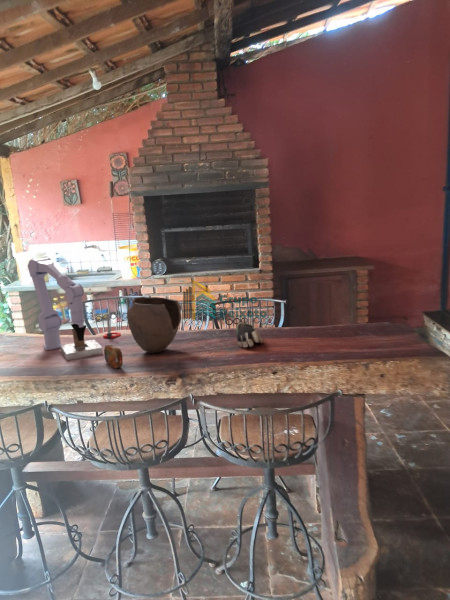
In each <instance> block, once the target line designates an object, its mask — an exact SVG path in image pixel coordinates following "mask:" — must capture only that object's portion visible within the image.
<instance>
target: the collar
mask: <svg viewBox="0 0 450 600" xmlns="http://www.w3.org/2000/svg"><path fill="white" fill-rule="evenodd" d="M84 342H85V346H82V347H77V348H76V347H75V345H74V342H73V343H67V344H62V345H60V347H61V348H60V352H61V354H62V355H63V357H64V358H65V360H66V361H70V360H76V359H80V358H85V357H86V358H87V357H92V356H96V355H103V354H104V349H103V346H101V345H100V343H98V342H97V341H96V340H95V339H90V340H89V339H88V340H84Z"/></svg>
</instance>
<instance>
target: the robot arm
mask: <svg viewBox="0 0 450 600" xmlns="http://www.w3.org/2000/svg"><path fill="white" fill-rule="evenodd" d="M54 264H55V263H54V261H53V260H52V258H50V257H48V256H47V257H41V258H35V259H33V258H32V259H30V260H29V261H28V263H27V269H28V271H29V272H28V273H29V276H30V278H31V279H32V283H33V286H34V290H35V293H36V297H37V300H38V305H39V308H40V310H41V312H40V313H39V314H38V316H37V319H38V320H37V321H38V328H39V329H40V330H41V332H42V333H43V339H44V344H43V347H44V349H45V351H49V350H55V349H61V347H60V345H63V344H62V343H61V335H60V329H61V327H62V324H63V320H62V317H61V315H60V313H59V312H58V310H55V309H53V305H52V301H51V297H50V295H49V290H48V288H47V287H48V286H47V284H46V280H45V277H46V276H48V274H49V275H50V276H51V277H52V278H53V279H55V280H56V284H57V285H58V287H60V288H61V289H62V290H63V291H64V294H65V296H66V298H67V303H68V304H69V313H70V320H69V321H68V323H69V324H70V326H71V327H72V329H75V331H76V334H77V337H78V340H79V341H82V340H84V341H85V333H86V328H87V325H86V324H85V321H86V319H85V314H84V307H83V306H84V305H83V296H84V294H85V289H84V287H83V286H82V285H81V284H80V283H75V282H74V281H73V280H72V279H71V278H70V277H69V276H68V275H67V274H66V275H65V274H62V273H61V272H60V271H59V269H57V267H56V266H55V265H54Z"/></svg>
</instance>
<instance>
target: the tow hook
mask: <svg viewBox="0 0 450 600" xmlns="http://www.w3.org/2000/svg"><path fill="white" fill-rule="evenodd" d="M109 314H110V313H106V316H107V317H106V323H107V324H106V325H107V332H106V333H105V334H104V335H102V338H103V339H116V338H118V337H120V336H121V335H122V333H121V332H118V331H117V332H116V331H115V332H113V331H112V330H111V323H110V317H109V316H110V315H109ZM111 331H112V332H111Z"/></svg>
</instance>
